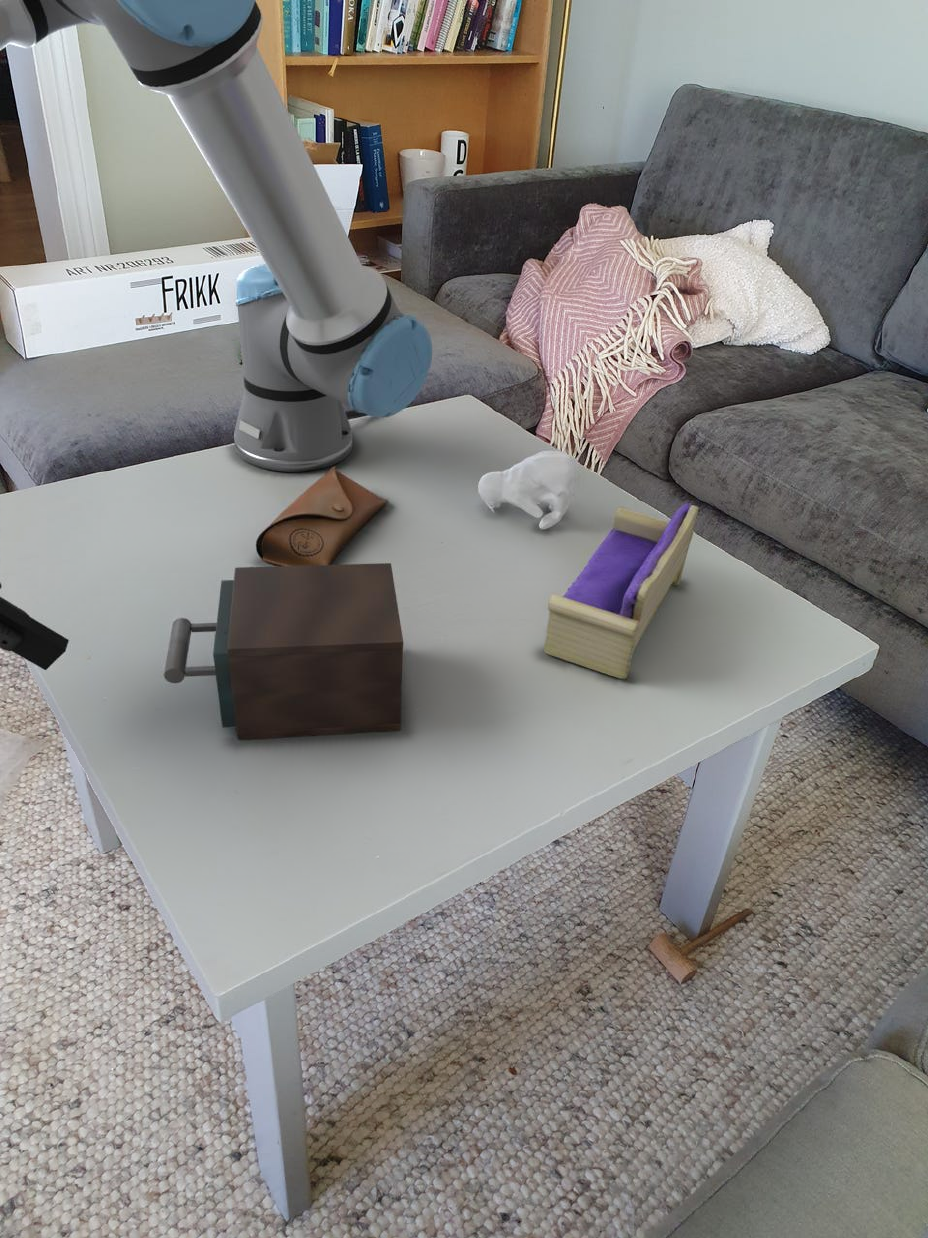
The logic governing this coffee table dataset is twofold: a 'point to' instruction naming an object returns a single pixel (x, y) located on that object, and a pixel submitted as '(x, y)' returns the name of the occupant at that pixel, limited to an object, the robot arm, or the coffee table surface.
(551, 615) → the toy sofa
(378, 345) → the robot arm
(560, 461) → the white figurine
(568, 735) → the coffee table surface
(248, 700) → the cabinet
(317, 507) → the sunglasses case
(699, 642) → the coffee table surface
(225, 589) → the drawer
